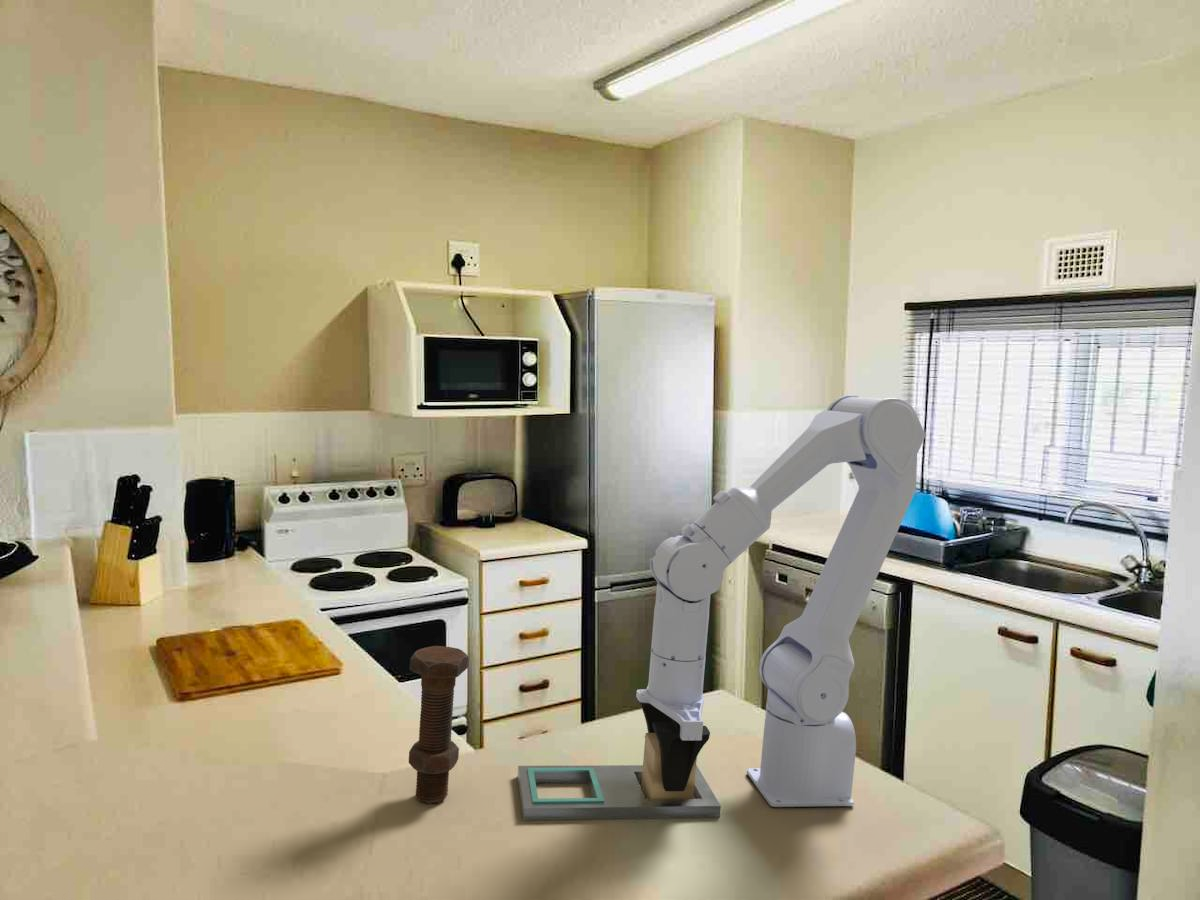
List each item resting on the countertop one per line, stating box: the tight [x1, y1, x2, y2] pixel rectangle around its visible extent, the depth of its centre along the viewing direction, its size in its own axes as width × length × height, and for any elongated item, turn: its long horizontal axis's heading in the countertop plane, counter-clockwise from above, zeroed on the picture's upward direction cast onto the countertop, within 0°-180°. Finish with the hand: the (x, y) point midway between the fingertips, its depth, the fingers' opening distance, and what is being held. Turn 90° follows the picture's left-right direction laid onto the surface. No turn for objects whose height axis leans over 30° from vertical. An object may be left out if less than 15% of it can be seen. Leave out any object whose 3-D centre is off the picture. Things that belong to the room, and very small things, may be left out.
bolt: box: [408, 645, 470, 804], centre depth 85 cm, size 6×5×15 cm
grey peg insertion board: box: [517, 764, 722, 821], centre depth 88 cm, size 20×9×1 cm, turn 99°
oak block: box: [640, 732, 698, 799], centre depth 89 cm, size 4×4×6 cm
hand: (667, 777), depth 89 cm, fingers open, 5 cm apart
